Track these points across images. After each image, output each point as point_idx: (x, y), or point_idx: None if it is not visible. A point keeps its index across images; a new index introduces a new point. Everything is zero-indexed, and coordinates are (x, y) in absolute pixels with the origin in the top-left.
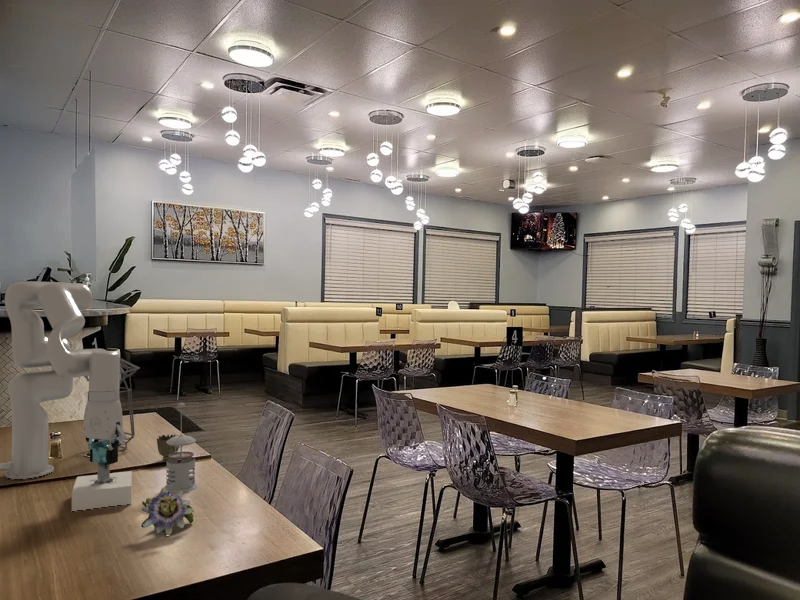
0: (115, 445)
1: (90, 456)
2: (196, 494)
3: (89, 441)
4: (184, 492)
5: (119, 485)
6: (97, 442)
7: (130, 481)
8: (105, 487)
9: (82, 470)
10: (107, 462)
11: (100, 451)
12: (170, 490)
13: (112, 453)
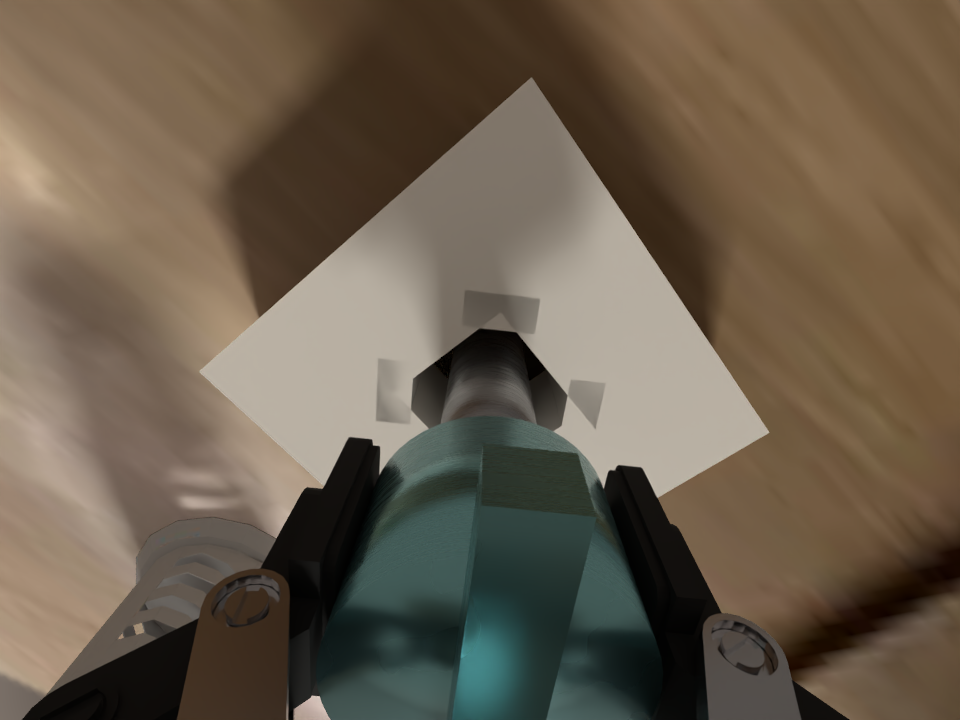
0: (133, 660)
1: (646, 503)
2: (67, 534)
3: (779, 715)
4: (146, 541)
5: (291, 355)
6: (515, 675)
7: (292, 448)
8: (356, 286)
9: (922, 666)
10: (356, 446)
11: (420, 520)
12: (209, 533)
13: (274, 548)
